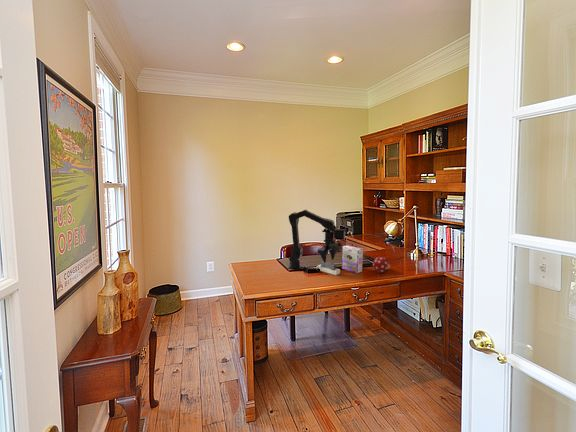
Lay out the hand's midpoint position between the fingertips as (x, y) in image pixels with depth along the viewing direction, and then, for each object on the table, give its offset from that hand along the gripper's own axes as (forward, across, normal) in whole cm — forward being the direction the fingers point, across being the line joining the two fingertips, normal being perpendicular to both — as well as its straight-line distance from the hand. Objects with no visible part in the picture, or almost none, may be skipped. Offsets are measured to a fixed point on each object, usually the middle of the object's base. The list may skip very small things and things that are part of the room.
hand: (328, 260), depth 220 cm
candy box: (+8, +14, -10) cm, 19 cm away
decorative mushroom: (+8, +27, -27) cm, 39 cm away
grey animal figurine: (+7, 0, 0) cm, 7 cm away
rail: (+8, 0, 0) cm, 8 cm away
